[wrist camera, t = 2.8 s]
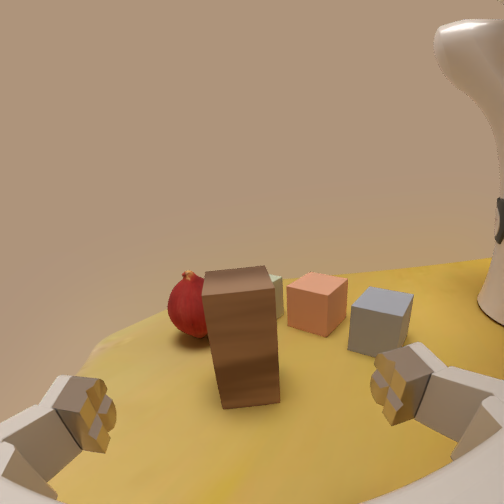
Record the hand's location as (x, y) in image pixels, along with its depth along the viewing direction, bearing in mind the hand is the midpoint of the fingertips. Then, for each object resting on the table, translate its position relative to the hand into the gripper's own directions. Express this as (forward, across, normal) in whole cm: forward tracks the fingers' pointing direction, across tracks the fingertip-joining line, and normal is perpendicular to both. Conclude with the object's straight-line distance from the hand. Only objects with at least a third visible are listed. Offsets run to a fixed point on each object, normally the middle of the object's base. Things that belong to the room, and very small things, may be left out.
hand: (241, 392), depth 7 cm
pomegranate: (+22, +4, +11) cm, 25 cm away
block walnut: (+12, 0, +11) cm, 17 cm away
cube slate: (+15, -14, +11) cm, 24 cm away
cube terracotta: (+22, -9, +11) cm, 26 cm away
